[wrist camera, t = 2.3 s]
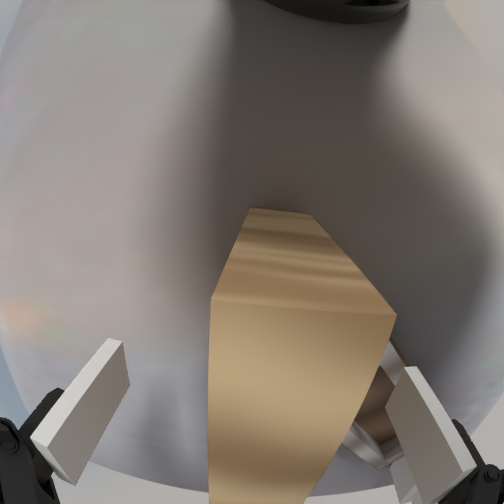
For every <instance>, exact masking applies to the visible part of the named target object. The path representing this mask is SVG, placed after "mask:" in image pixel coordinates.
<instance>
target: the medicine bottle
mask: <svg viewBox="0 0 504 504" xmlns="http://www.w3.org/2000/svg"><path fill="white" fill-rule="evenodd" d="M390 472H391V475H392V479H393V482H394V485H395V489H396V492H397V496H398V499H399V502H400V504H404V503H407V502H410V501H412V504H423V503H422V500H421V497H420V494H419V491H418V489H417V486H416V483H415V481H414V478H413V475H412V473H411V470H410V467H409V465H408V462H407V460H406V457H405V456H404V457H402V458H400V459H399V460H397V461H395V462H393V463H392V465H391V466H390ZM447 500H448V498H447V495H446V496H445V497H444V498H443V499H441V500H440V501H439V502H437V503H435V504H443V503H444V502H446V501H447Z"/></svg>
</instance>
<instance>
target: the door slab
mask: <svg viewBox="0 0 504 504" xmlns="http://www.w3.org/2000/svg"><path fill="white" fill-rule="evenodd" d="M396 318H397V314H396V313H395V312H394V310H393V309H392V308H391V307H390V305H389V304H388V303H387V302H386V301H385V299H384V298H383V297H382V296H381V294H380V293H379V292H378V291H377V290H376V288H375V287H374V286H373V285H372V284H371V282H370V281H369V280H368V279H367V278H366V276H365V275H364V274H363V273H362V272H361V271H360V269H359V268H358V267H357V266H356V265H355V264H354V262H353V261H352V260H351V259H350V258H349V257H348V256H347V254H346V253H345V252H344V251H343V250H342V249H341V248H340V247H339V245H338V244H337V243H336V242H335V241H334V240H333V239H332V238H331V237H330V235H329V234H328V233H327V232H326V231H325V230H324V229H323V228H322V227H321V226H320V225H319V223H318V222H317V221H316V220H315V219H314V218H313V217H312V216H311V215H310V214H306V213H298V212H290V211H282V210H273V209H264V208H255V207H250V209H249V211H248V213H247V216H246V218H245V220H244V223H243V225H242V227H241V230H240V232H239V234H238V236H237V239H236V241H235V243H234V246H233V248H232V250H231V253H230V255H229V257H228V260H227V262H226V264H225V267H224V269H223V271H222V274H221V276H220V278H219V281H218V283H217V286H216V288H215V290H214V293H213V295H212V297H211V307H210V331H209V364H208V484H209V504H303V503H304V501H305V500H306V498H307V497H308V496H309V494H310V493H311V491H312V490H313V488H314V487H315V485H316V484H317V482H318V481H319V479H320V478H321V476H322V475H323V473H324V472H325V470H326V468H327V467H328V465H329V464H330V462H331V460H332V459H333V457H334V455H335V453H336V452H337V450H338V448H339V447H340V445H341V443H342V441H343V439H344V438H345V436H346V434H347V432H348V430H349V428H350V426H351V425H352V423H353V421H354V419H355V417H356V415H357V413H358V411H359V409H360V407H361V405H362V403H363V400H364V398H365V396H366V394H367V392H368V390H369V387H370V385H371V383H372V381H373V378H374V376H375V374H376V371H377V369H378V366H379V364H380V361H381V359H382V356H383V354H384V351H385V349H386V346H387V343H388V341H389V338H390V335H391V332H392V329H393V326H394V324H395V321H396Z"/></svg>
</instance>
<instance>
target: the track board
mask: <svg viewBox="0 0 504 504" xmlns="http://www.w3.org/2000/svg"><path fill="white" fill-rule="evenodd" d="M404 367H409V366H408V364H407V363H406V361H405V359H404V358H403V356H402V354H401V353H400V351H399V350H398V348H397V346H396V345H395V343H394V341H393V340H392V338H391V337H390V338H389V341H388V343H387V346H386V349H385V351H384V354H383V356H382V359H381V361H380V364H379V366H378V369H377V371H376V374H375V376H374V378H373V381H372V383H371V385H370V387H369V390H368V392H367V394H366V396H365V398H364V400H363V403H362V405H361V407H360V409H359V411H358V413H357V415H356V417H355V419H354V421H353V423H352V425H351V426H350V428H349V430H348V432H347V434H346V436H345V438H344V439H343V441H342V444H344V445H345V446H346V447H347V448H349V449H350V450H351V451H353V452H354V453H355V454H357V455H358V456H359V457H361V458H362V459H363V460H365V461H366V462H368V463H369V464H370V465H372V466H373V467H374V468H376V469H377V470H379V469H381V468H383V467H385V466H387V465H389V464H391V463H393V462H395V461H397V460H399V459H400V458H402V457H404V456H405V455H404V452H403V449H402V447H401V445H400V442H399V440H398V437H397V435H396V432H395V430H394V428H393V425H392V423H391V420H390V418H389V416H388V413H387V411H386V409H385V406H386V404H387V402H388V400H389V398H390V396H391V394H392V392H393V390H394V388H395V386H396V384H397V382H398V379H399V377H400V375H401V373H402V371H403V368H404Z"/></svg>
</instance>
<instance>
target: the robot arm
mask: <svg viewBox="0 0 504 504" xmlns="http://www.w3.org/2000/svg"><path fill="white" fill-rule="evenodd" d="M266 1H268V2H270V3H272V4H274V5H276V6H278V7H280V8H283V9H285V10H288V11H291V12H294V13H297V14H300V15H303V16H307V17H311V18H315V19H319V20H325V21H331V22H339V23H370V22H376V21H381V20H384V19H387V18H390V17H392V16H394V15H395V14H397V13H398V12H399V11H401V10H402V8H403V7H404V6H405V5H406V4H407V3H408V2H409V1H410V0H266ZM129 386H130V382H129V377H128V372H127V366H126V360H125V354H124V348H123V342H122V341H118V340H114V339H110V338H108V339H107V340H106V342H105V343H104V344H103V345H102V346H101V347H100V349H99V350H98V351H97V352H96V353H95V355H94V356H93V357H92V358H91V359H90V361H89V362H88V363H87V364H86V365H85V367H84V368H83V369H82V370H81V372H80V373H79V374H78V375H77V377H76V378H75V379H74V380H73V382H72V383H71V384H70V385H69V387H68V388H67V389H66V390H65V391H64V390H62V389H60V388H56V389H55V390H53V391H51V392H49V393H48V394H47V395H46V396H45V398H44V399H43V400H42V402H41V403H40V404H39V405H38V406H37V407H36V408H37V409H35V410H34V411H33V412H32V414H31V415H30V416H29V417H28V419H27V420H26V421H25V422H24V424H23V425H22V426H21V428H20V429H19V430H17V428H16V427H15V425H14V424H13V423H12V421H11V420H9V419H7V418H2V417H0V504H60V501H59V498H58V495H57V493H56V489H55V486H54V482H53V479H52V477H51V475H52V473H53V471H54V472H55V473H56V474H57V476H58V477H59V478H60V479H62V480H64V481H66V482H68V483H70V484H72V485H74V486H75V485H76V484H77V482H78V480H79V478H80V476H81V474H82V472H83V470H84V468H85V466H86V464H87V462H88V460H89V459H90V457H91V455H92V453H93V451H94V449H95V447H96V445H97V444H98V442H99V440H100V438H101V436H102V434H103V433H104V431H105V429H106V427H107V425H108V423H109V422H110V420H111V418H112V416H113V414H114V413H115V411H116V409H117V407H118V406H119V404H120V402H121V400H122V398H123V397H124V395H125V393H126V391H127V390H128V388H129ZM385 409H386V411H387V413H388V416H389V418H390V420H391V423H392V425H393V428H394V430H395V432H396V435H397V437H398V440H399V442H400V445H401V447H402V449H403V452H404V455H405V457H406V460H407V462H408V465H409V467H410V470H411V473H412V475H413V478H414V481H415V483H416V486H417V489H418V491H419V494H420V497H421V500H422V503H423V504H435V503H437V502H439V501H440V500H441V499H443V498H444V497H445V496H446V495H447V498H448V500H447V501H446V502H444V503H443V504H503V502H504V469H503V470H499V469H498V468H497V466H494V465H492V464H488V465H486V464H485V463H484V461H483V459H482V458H481V456H480V454H479V452H478V451H477V449H476V447H475V445H474V444H473V442H472V441H471V439H470V437H469V435H467V432H466V430H465V429H464V427H463V425H461V424H460V423H459V422H458V421H457V420H455V419H453V420H450V418H449V416H448V415H447V413H446V411H445V410H444V408H443V407H442V405H441V403H440V402H439V400H438V399H437V397H436V395H435V394H434V392H433V391H432V389H431V388H430V386H429V385H428V383H427V382H426V380H425V378H424V377H423V375H422V374H421V372H420V371H419V369H418V368H417V366H415V367H404V368H403V371H402V373H401V375H400V377H399V379H398V382H397V384H396V386H395V388H394V390H393V392H392V394H391V396H390V398H389V400H388V402H387V404H386V406H385Z"/></svg>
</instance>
